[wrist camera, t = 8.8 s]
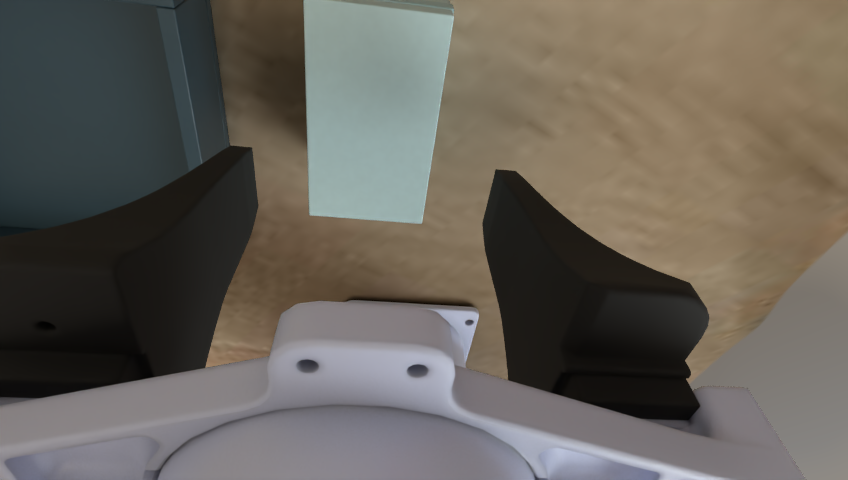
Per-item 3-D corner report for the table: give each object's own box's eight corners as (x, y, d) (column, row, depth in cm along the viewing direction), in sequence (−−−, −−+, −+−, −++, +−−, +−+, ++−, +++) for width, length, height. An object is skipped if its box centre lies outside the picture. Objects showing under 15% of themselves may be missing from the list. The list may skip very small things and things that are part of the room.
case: (419, 167, 23) (423, 225, 20) (321, 158, 23) (307, 216, 19) (445, -20, 18) (456, 13, 15) (320, -37, 18) (301, -6, 14)
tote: (243, 245, 26) (225, 292, 23) (-30, 226, 24) (-83, 274, 22) (205, -35, 18) (171, -12, 15) (-210, -89, 16) (-332, -74, 14)
